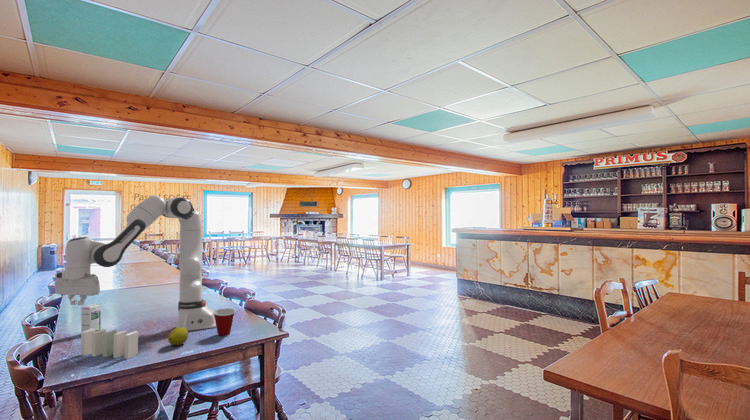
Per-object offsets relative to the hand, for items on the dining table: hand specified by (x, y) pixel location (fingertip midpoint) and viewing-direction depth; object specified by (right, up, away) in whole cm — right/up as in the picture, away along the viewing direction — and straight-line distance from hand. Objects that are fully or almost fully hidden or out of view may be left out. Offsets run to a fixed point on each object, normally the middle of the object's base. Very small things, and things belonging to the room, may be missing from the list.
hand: (77, 304), depth 162 cm
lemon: (+40, -22, +9) cm, 46 cm away
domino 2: (+11, -21, -2) cm, 24 cm away
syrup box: (-15, -22, +26) cm, 37 cm away
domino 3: (+17, -21, -3) cm, 27 cm away
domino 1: (+6, -21, -1) cm, 22 cm away
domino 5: (+27, -21, -5) cm, 35 cm away
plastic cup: (+55, -22, +24) cm, 64 cm away
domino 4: (+22, -21, -4) cm, 31 cm away
